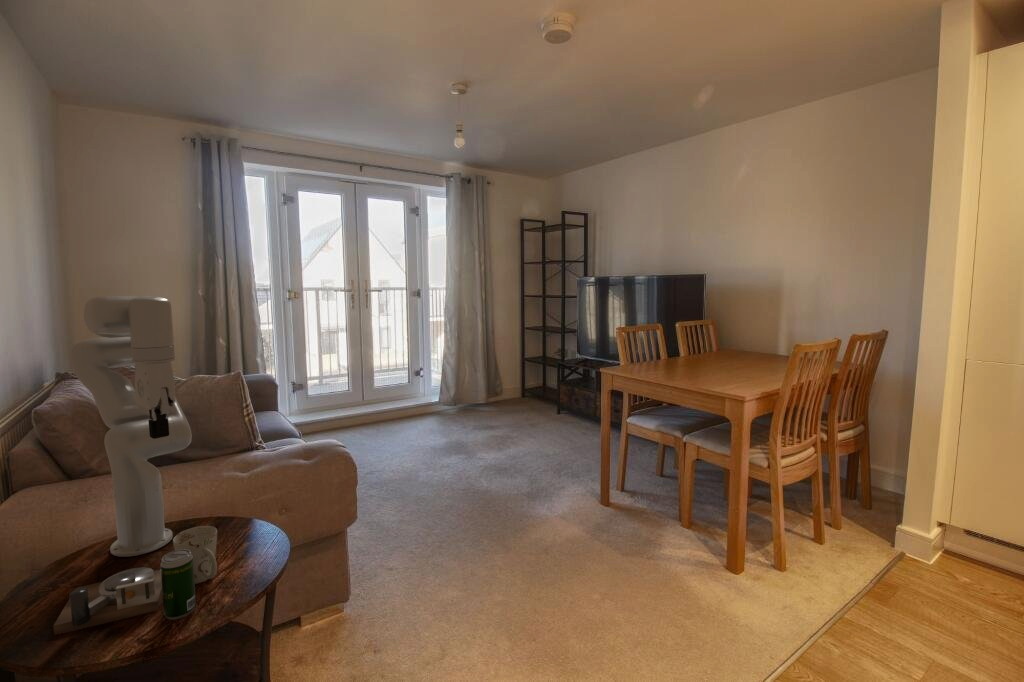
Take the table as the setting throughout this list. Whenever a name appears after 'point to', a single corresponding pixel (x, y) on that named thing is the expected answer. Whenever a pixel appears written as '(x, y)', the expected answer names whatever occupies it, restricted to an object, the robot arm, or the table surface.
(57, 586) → the table surface
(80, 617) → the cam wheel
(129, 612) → the levelling stand
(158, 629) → the table surface
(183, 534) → the mug
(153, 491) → the robot arm
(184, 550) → the beer can
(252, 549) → the table surface
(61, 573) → the table surface
